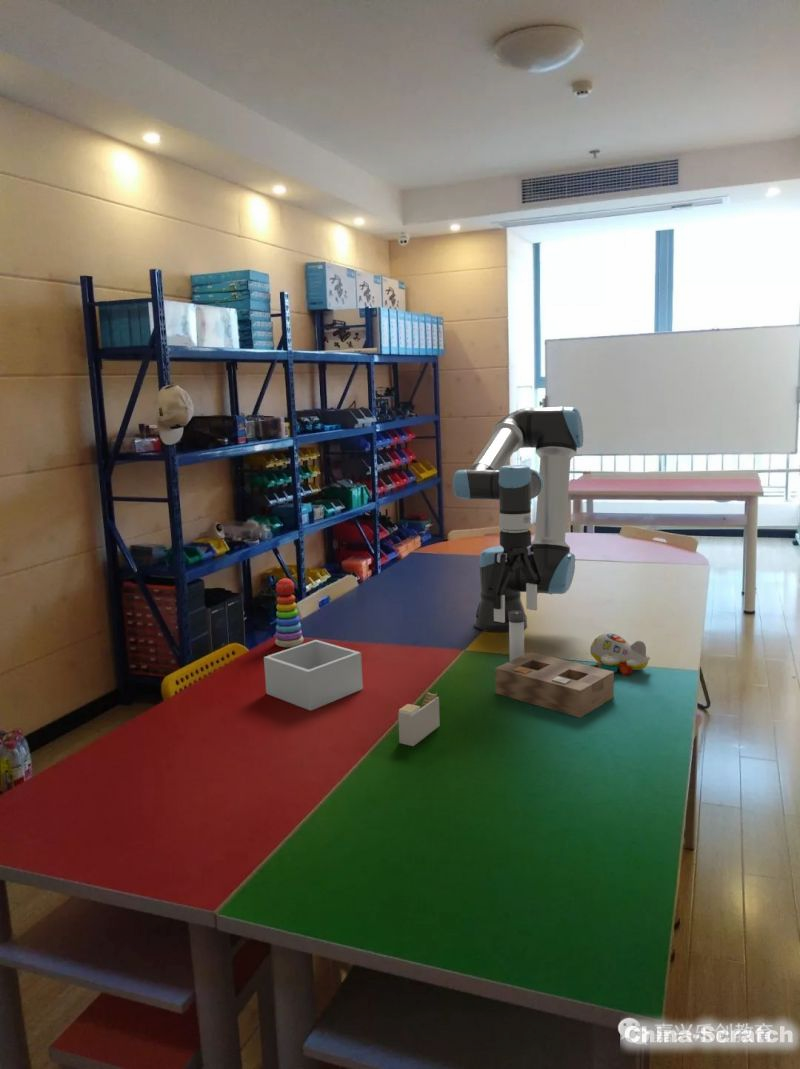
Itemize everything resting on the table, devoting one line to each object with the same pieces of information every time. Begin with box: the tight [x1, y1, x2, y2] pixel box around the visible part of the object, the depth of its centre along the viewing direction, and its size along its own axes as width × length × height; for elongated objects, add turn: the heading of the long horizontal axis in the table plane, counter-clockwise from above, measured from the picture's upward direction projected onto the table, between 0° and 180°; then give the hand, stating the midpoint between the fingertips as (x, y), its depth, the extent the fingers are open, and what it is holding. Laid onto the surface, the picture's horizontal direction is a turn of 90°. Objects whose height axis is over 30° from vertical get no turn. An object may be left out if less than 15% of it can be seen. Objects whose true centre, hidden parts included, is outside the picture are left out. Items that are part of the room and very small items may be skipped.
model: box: [397, 690, 441, 747], centre depth 159 cm, size 3×11×8 cm, turn 148°
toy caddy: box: [263, 639, 364, 711], centre depth 184 cm, size 16×16×9 cm
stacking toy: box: [274, 577, 305, 648], centre depth 219 cm, size 8×8×19 cm
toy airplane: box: [589, 632, 651, 676], centre depth 191 cm, size 13×9×15 cm
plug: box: [508, 611, 525, 661], centre depth 195 cm, size 4×4×14 cm
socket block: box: [494, 651, 615, 719], centre depth 177 cm, size 22×14×6 cm, turn 47°
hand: (516, 615), depth 193 cm, fingers open, 13 cm apart
